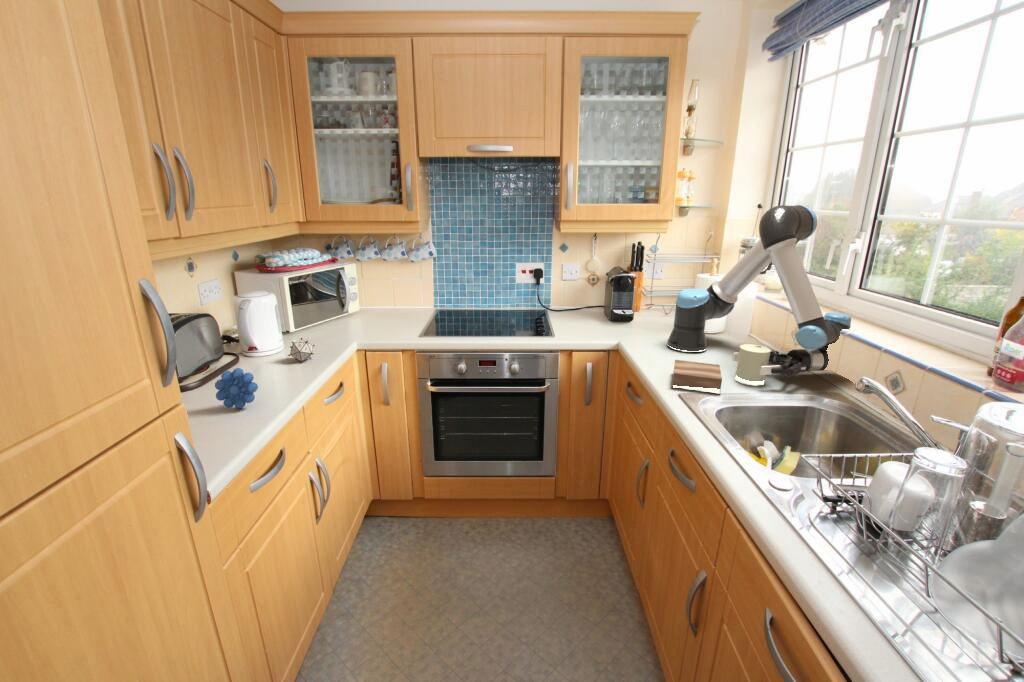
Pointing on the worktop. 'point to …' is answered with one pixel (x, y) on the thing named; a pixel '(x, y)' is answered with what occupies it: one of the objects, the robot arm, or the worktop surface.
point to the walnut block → (697, 374)
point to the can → (752, 361)
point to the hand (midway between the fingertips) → (746, 363)
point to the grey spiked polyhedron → (301, 350)
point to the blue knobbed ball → (236, 388)
